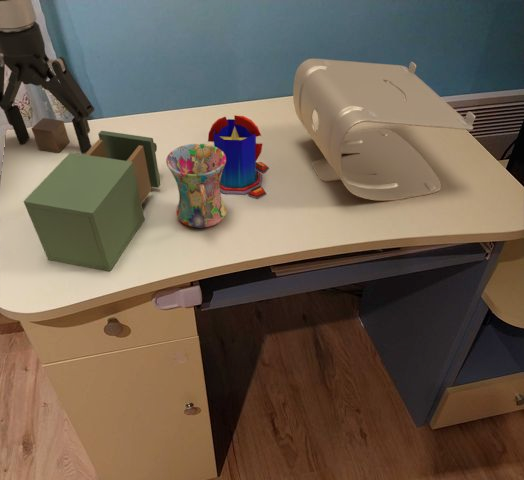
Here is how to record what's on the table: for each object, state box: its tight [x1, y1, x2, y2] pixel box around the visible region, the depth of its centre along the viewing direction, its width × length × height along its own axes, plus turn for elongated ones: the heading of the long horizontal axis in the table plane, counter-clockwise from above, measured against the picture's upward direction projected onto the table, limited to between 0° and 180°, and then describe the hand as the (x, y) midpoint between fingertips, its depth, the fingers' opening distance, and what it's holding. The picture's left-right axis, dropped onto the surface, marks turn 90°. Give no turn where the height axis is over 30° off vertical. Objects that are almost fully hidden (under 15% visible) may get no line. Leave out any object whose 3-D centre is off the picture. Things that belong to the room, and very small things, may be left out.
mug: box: [165, 143, 227, 228], centre depth 80 cm, size 12×9×11 cm
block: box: [31, 117, 70, 154], centre depth 97 cm, size 4×4×4 cm
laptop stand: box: [292, 58, 476, 202], centre depth 90 cm, size 26×24×16 cm
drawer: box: [84, 130, 161, 205], centre depth 84 cm, size 17×9×9 cm, turn 166°
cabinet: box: [23, 152, 146, 272], centre depth 77 cm, size 14×11×11 cm
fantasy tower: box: [207, 114, 270, 200], centre depth 88 cm, size 12×12×12 cm
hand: (55, 145), depth 99 cm, fingers open, 13 cm apart
